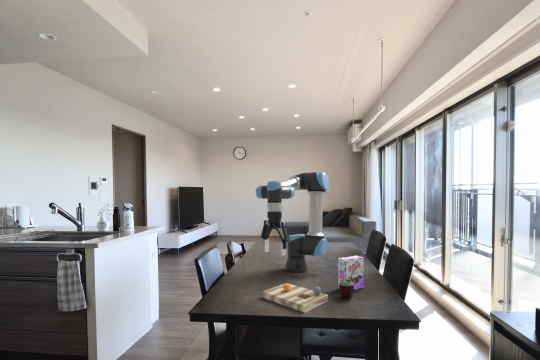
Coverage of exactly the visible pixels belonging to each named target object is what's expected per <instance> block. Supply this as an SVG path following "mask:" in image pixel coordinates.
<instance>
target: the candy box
mask: <svg viewBox="0 0 540 360" xmlns="http://www.w3.org/2000/svg"><path fill="white" fill-rule="evenodd" d="M356 268H357V269H356ZM354 269H356V270H355V271H354V273H353V275H352V277H351V274H352V271H353V270H354ZM350 277H351V281H352V282H353V285H354V290H353V291H355V290H356V291H357V290H361V289H365V257H363V256H359V255H352V256H345V257H338V258H337V289H339V283H340V281H341V280H343V279H348V280H349V279H350Z"/></svg>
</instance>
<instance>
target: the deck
mask: <svg viewBox="0 0 540 360" xmlns="http://www.w3.org/2000/svg"><path fill="white" fill-rule="evenodd" d="M284 284H285V283H282V284H279V285H277V286H274V287H272V288H268V289H266V290H263V291H262V299H266V300H267V301H271V302H273V303H276V304H279V305H281V306H285V307H286V308H287V307H288V308H290V309H293V310H294V311H295V310H296V311H298V312H301V313H302V314H303V313H304V314H306V313H309V311H312V310H314V309H316V308H319V306H321V305H324V304H326V303H328V302H329V295H328V294H326V293H323V292H321V293H320V294H319V295H316V294H315V293H314V291H313V290H314V289H309V288H306V287H301V286H298V285H294V284H292V283H288V284H289V285H290V290H289V291H285V290H284V289H283V285H284Z"/></svg>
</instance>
